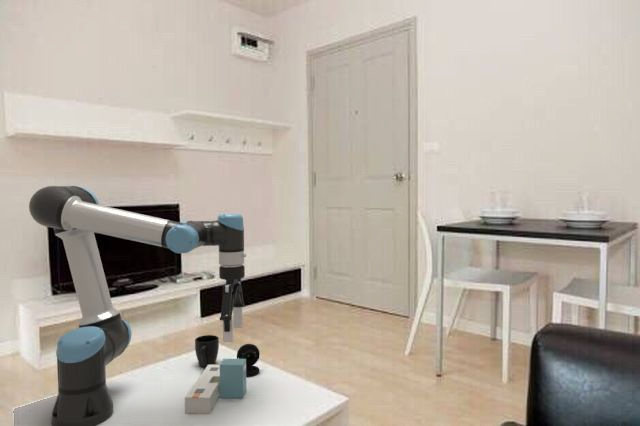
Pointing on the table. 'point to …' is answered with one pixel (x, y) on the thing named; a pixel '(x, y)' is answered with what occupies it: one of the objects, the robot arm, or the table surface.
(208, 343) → the mug
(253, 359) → the webcam
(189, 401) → the power strip
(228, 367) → the charger
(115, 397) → the table surface
